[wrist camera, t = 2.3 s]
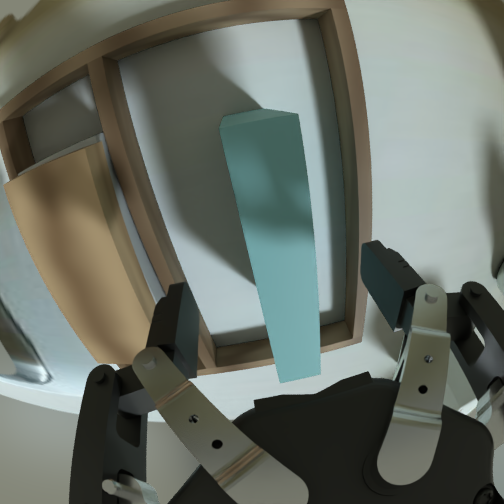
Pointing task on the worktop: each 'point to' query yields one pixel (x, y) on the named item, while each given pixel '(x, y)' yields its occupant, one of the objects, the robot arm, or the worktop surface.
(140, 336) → the oak offcut top
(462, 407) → the supplement box
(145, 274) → the grey flat panel
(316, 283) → the teal block
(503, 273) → the plastic bottle
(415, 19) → the worktop surface
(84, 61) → the tray
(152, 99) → the worktop surface
